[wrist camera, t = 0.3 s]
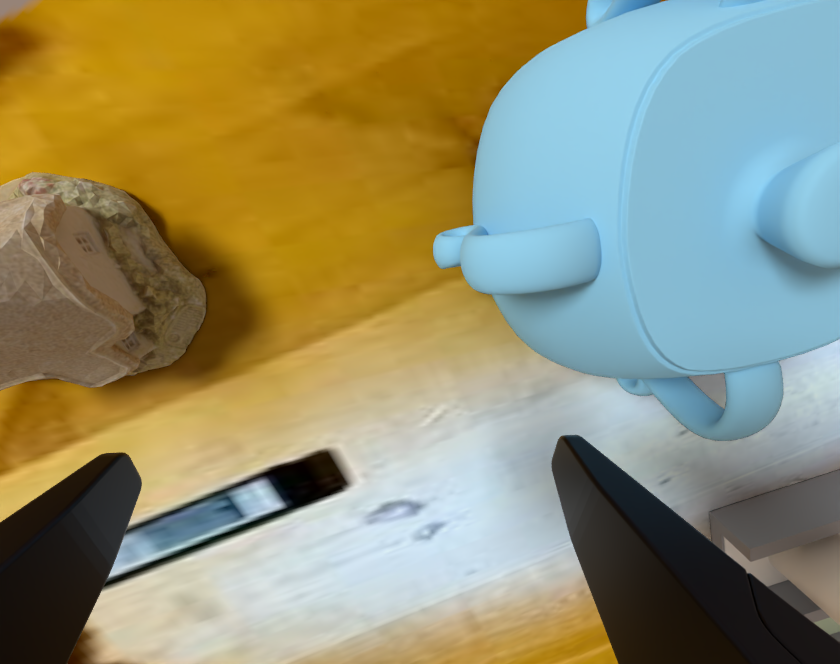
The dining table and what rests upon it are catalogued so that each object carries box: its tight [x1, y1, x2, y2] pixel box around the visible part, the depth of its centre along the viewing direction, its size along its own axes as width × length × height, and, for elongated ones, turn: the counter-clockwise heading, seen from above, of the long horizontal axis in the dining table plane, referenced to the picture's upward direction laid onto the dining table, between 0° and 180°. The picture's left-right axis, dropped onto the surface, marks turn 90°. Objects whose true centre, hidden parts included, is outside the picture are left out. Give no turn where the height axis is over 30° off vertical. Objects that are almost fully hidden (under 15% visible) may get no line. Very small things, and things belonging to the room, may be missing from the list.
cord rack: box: [709, 470, 840, 642], centre depth 31 cm, size 12×18×4 cm
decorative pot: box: [433, 0, 840, 441], centre depth 16 cm, size 20×20×14 cm
